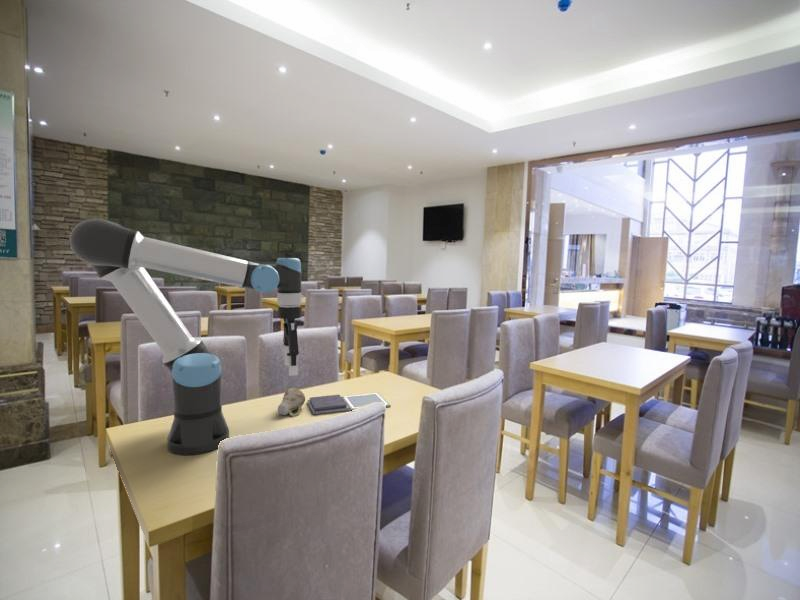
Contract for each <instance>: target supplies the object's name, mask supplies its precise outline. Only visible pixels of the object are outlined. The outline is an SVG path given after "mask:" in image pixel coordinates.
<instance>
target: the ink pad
mask: <svg viewBox="0 0 800 600" xmlns="http://www.w3.org/2000/svg"><path fill="white" fill-rule="evenodd" d="M306 401H307V402H306V403H307V405H308V407H309V409H310V411H311V414H312V415H323V414H324V415H325V414H332V413H341V412H349V411H350V409H349V407H348V406H347V404H346V403H345V401H344V400H343V399H342V397H341V395H340V394H333V395H331V394H330V395H323V396H313V397H309V399H306Z"/></svg>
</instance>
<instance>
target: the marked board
mask: <svg viewBox="0 0 800 600" xmlns="http://www.w3.org/2000/svg"><path fill="white" fill-rule="evenodd" d="M340 396H341V395H340ZM341 397H342V399H343V400H344V401H345V403H346V404H347V406H348V407H349V411H351V410H354V409H357V408H359V407H362V406H364V405H367V404H370V403H373V402H383V403H384V404H385V405H386V407H385V408H391V404H390V403H389V402H388V401H387V400H386V399H385V398H384V397H383V396H382V395H381V394H380V393H379V392H371V393H362V394H353V395H351V394H350V395H344V396H343V395H342V396H341Z"/></svg>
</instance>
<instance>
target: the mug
mask: <svg viewBox="0 0 800 600" xmlns="http://www.w3.org/2000/svg"><path fill="white" fill-rule="evenodd" d="M305 396H306V395H305V394H304V393H303V392H302V390H300V389H299V388H296V387H291V388H289V389H287V390H286V391H285V393H284V394H283V397H282V400H281V403H280V404H279V405H278V406H277V412H278V414H280V415H281V416H287V415H288V414H289V416H290V417H293V418H295V417H298V415H299V414H300V412H301V408H302V407H303V406H304V404H305V402H306V397H305ZM295 410H297V413H293V411H295Z"/></svg>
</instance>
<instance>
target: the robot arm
mask: <svg viewBox="0 0 800 600" xmlns="http://www.w3.org/2000/svg"><path fill="white" fill-rule="evenodd" d="M69 246H70V249H71V250H72V252H73V254H74V255H75V256H76V257H77V258H78V259H79V260H81V262H84V263H86V264H89V265H90V266H91V267H92V269H93V270H94V271H95V272H96V274H97V275H98V276H99V278H100V279H101V280H104V281H108V282H111V283H112V285H113V286H114V288H115V289H116V290H117V291H118V293H119V295H120V296H121V297H122V298H123V300H124V301H125V302H126V304H127V305H128V307H129V308H130V309H131V310H132V312H133V313H134V315H135V316H136V318H137V319H138V320H139V321H140V323H141V325H142V326H143V328H144V329H145V330H146V332H147V333H148V334H149V335H150V336H151V338H152V339H153V341H154V342H155V343H156V345H157V346H158V348H159V349H160V350H161V352H162V353H163V358H162V363H163V364H164V366H165V367H166V369H167V370H168V371H169V372H170V374H171V377H172V390H173V391H172V395H173V396H172V397H173V421H172V424H171V426H170V430H169V432H168V437H167V443H166V445H167V450H168V452H170V453H172V454H175V455H182V456H183V455H185V456H187V455H188V456H189V455H190V456H191V455H200V454H203V453H204V454H205V453H208V452H211V451H215V450H216V449H217V450H218V449H219V448H218V445H219V443H220V441H222V440H224V439H226V438H229V439H230V429H229V426H228V424H227V421H226V418H225V416H224V413H223V410H222V409H223V407H222V406H223V405H222V403H223V402H222V371H223V367H222V364H221V360H220V358H219V357H218V356H217V355H216V354H215V355H214V353H212V351H210V350H209V349H208V347H207V346H206V344H205V343H204V341H203V340H202V339H201V338H198V337H194V336H192V334H191V333H190V331H189V330H188V328H187V327H186V326H185V325H184V323H183V321H182V320H181V318H180V317H179V315H178V314H177V312H176V311H175V309H174V308H173V307H172V305H171V304H170V302H169V301H168V300H167V298H166V297H165V296H164V294H163V292H162V291H161V290H160V288H159V286H158V285H157V284H156V283H155V280H153V279H152V277H151V275H150V274H149V272H148V271H147V270H146V269H150V270H154V271H159V272H165V273H169V274H175V275H179V276H185V277H189V278H194V279H199V280H204V281H210V282H214V283H219V284H225V285H228V286H229V285H230V286H234V287H238V288H239V289H247V290H252V291H253V290H254V291H257V292H259V293H270V292H273V291H274V290H275V289H277V297H276V298H277V305H278V307H277V318H279V319H280V320H281V319H282V320H283V325H282V326H283V340H282V342H283V352H284V353H283V357H284V359H283V361H284V364H283V365H284V366H288V377H292V376H299V354H300V351H299V342H298V323H296V319H300V318H302V317H303V314H302V313H303V309H302V306H301V305H302V299H303V298H304V295H303V294H302V274H303V273H302V265H301V259H299V258H297V257H278V258H277V260H276V262H275V263H272V264H270V263H269V264H267V263H266V264H263V263H258V262H254V261H248V260H245V259H241V258H237V257H233V256H227V255H223V254H219V253H216V252H212V251H211V252H210V251H207V250H203V249H198V248H195V247H189V246H184V245H182V244H181V245H180V244H176V243H172V242H169V241H164V240H159V239H156V238H152V237H147V236H144V235H143V234H142V233H141V232H140V231H139V230H135V229H131V228H126V227H124V226H123V225H122V224H118V223H117V222H114V221H111V220H108V219H103V218H89V219H85V220H83V221H81V222H79V223H77V224H76V225H75V226H74V227H73V229H72V231H71V233H70V234H69Z"/></svg>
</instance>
